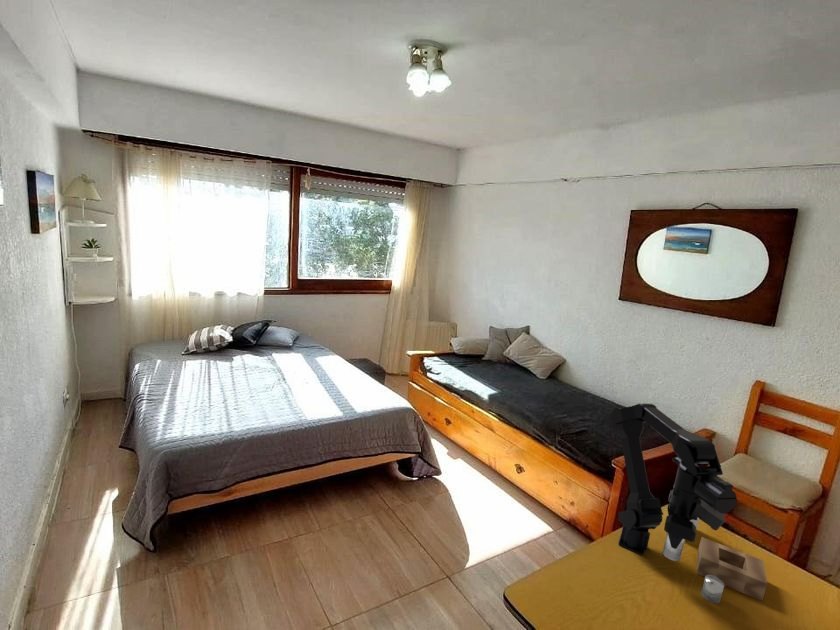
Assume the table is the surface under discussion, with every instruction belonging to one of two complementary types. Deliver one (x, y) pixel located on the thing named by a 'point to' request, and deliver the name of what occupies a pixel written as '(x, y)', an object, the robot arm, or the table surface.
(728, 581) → the hole board
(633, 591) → the table surface
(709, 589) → the short pin
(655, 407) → the robot arm
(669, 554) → the silver upright cylinder
